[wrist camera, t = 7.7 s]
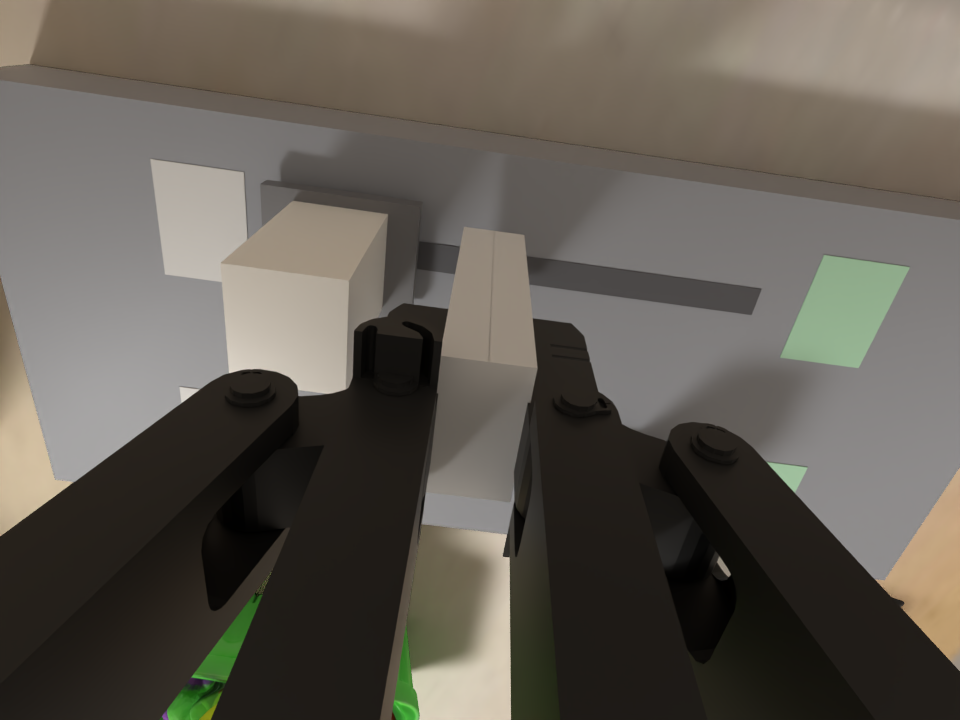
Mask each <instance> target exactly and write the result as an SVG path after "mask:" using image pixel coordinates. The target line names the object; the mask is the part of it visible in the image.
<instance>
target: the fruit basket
mask: <svg viewBox="0 0 960 720" xmlns="http://www.w3.org/2000/svg"><path fill="white" fill-rule="evenodd" d="M261 597H262V595H259V596H256V594H254V595H253V596H252V597H251V599H250V600H249V601H248V603H247V604H246V605H245V607H244V608H243V609H242V611H241V612H240V613H239V615H238V616H237V617H236V619H235V620H234V621H233V623H232V624H231V625H230V627H229V628H228V629H227V631H226V632H225V633H224V635H223V636H222V637H221V639H220V640H219V641H218V643H217V644H216V645H215V647H214V648H213V649H212V651H211V652H210V653H209V654H208V656H207V657H206V658H205V660H204V661H203V662H202V664H201V665H200V666H199V668H198V669H197V670H196V672H195V673H194V674H193V676H192V677H191V678H190V680H189V681H188V682H187V684H186V685H185V686H184V688H183V689H182V690H181V692H180V693H179V694H178V696H177V697H176V698H175V700H174V701H173V702H172V704H171V705H170V706H169V708H168V709H167V710H166V712H165V713H164V714H163V716H162V717H161V718H160V720H211V718H212V715H213V713H214V710H215V708H216V706H217V703H218V701H219V698H220V696H221V694H222V691H223V689H224V686H225V684H226V681H227V679H228V677H229V674H230V672H231V669H232V667H233V665H234V662H235V660H236V657H237V655H238V653H239V650H240V648H241V645H242V643H243V641H244V638H245V636H246V633H247V631H248V628H249V626H250V624H251V621H252V619H253V616H254V614H255V612H256V609H257V607H258V604H259V602H260V600H261ZM419 716H420V715H419V707H418V700H417V694H416V692H415V690H414V689H413V684H412V674H411V665H410V655H409V645H408V636H407V627H406V628H405V634H404V640H403V647H402V653H401V660H400V666H399V672H398V679H397V685H396V691H395V698H394V704H393V710H392V717H391V720H419Z"/></svg>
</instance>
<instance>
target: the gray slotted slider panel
mask: <svg viewBox="0 0 960 720" xmlns="http://www.w3.org/2000/svg"><path fill="white" fill-rule="evenodd" d="M266 180H273V181H280V182H287V183H294V184H301V185H308V186H315V187H323V188H330V189H337V190H344V191H351V192H358V193H365V194H372V195H379V196H386V197H393V198H400V199H407V200H414V201H421V202H423V204H422V216H421V227H420V238H419V250H418V261H417V272H416V283H415V295H414V305H422V306H429V307H437V308H445V309H449V304H450V299H451V293H452V288H453V283H454V277H455V272H456V267H457V261H458V256H459V251H460V246H461V240H462V235H463V230H464V227H470V228H477V229H485V230H492V231H499V232H507V233H514V234H521V235H524V237H525V247H526V257H527V267H528V277H529V287H530V297H531V308H532V318H535V319H542V320H550V321H558V322H565V323H572V324H573V325H574V326H575V327H576V328H577V329H578V330H579V331H580V332H581V333H582V334H583V335H584V338H585V341H586V345H587V351H588V353H589V357H590V362H591V365H592V369H593V373H594V377H595V381H596V384H597V388H598V392H600V393H602V394H603V395H605V396H606V397H607V398H608V399H610V400H611V401H612V402H613V403H614V405H615V407H616V408H617V410H618V412H619V416H620V419H621V422H622V424H623V425H625V426H627V427H628V428H630V429H633V430H635V431H638V432H641V433H643V434H646V435H650V436H653V437H656V438H659V439H662V440H665V441H667V439H668V436H669V433H670V431H671V429H673V428H674V427H675V426H677V425H678V424H682V423H688V422H698V423H709V424H713V425H715V426H720V427H722V428H725V429H727V430H728V431H730V432H732V433H734V434H736V435H737V436H739V437H741V438H742V439H743V440H745V441H746V442H747V443H748V444H749V445H751V446H752V447H753V448H754V449H755V450H756V451H757V452H758V454H759V455H760V456H761V457H762V458H763V459H764V460H765V461H766V462H767V463H768V464H769V465H770V467H771V468H772V469H773V470H774V471H775V472H776V473H777V474H778V475H779V476H780V477H781V478H782V480H783V481H784V482H785V483H786V484H787V485H788V486H789V487H790V488H791V489H792V490H793V491H794V493H795V494H796V495H797V496H798V497H799V498H800V499H801V500H802V501H803V502H804V503H805V504H806V506H807V507H808V508H809V509H810V510H811V511H812V512H813V513H814V514H815V515H816V516H817V517H818V519H819V520H820V521H821V522H822V523H823V524H824V525H825V526H826V527H827V528H828V529H829V530H830V532H831V533H832V534H833V535H834V536H835V537H836V538H837V539H838V540H839V541H840V542H841V543H842V545H843V546H844V547H845V548H846V549H847V550H848V551H849V552H850V553H851V554H852V555H853V556H854V557H855V559H856V560H857V561H858V562H859V563H860V564H861V565H862V566H863V567H864V568H865V569H866V570H867V572H868V573H869V574H870V575H871V576H872V577H873V578H874V579H878V580H885V579H886V577H887V576H888V574H889V573H890V571H891V570H892V568H893V567H894V565H895V564H896V562H897V561H898V559H899V558H900V556H901V555H902V553H903V552H904V550H905V549H906V547H907V546H908V544H909V543H910V541H911V540H912V538H913V537H914V535H915V534H916V532H917V531H918V529H919V528H920V526H921V525H922V523H923V522H924V520H925V519H926V517H927V516H928V514H929V513H930V511H931V510H932V508H933V507H934V505H935V504H936V502H937V501H938V499H939V498H940V496H941V495H942V493H943V492H944V490H945V489H946V487H947V486H948V484H949V483H950V481H951V480H952V478H953V477H954V475H955V474H956V472H957V471H958V469H959V468H960V202H959V201H953V200H946V199H939V198H932V197H925V196H919V195H912V194H905V193H898V192H891V191H885V190H878V189H871V188H864V187H858V186H851V185H844V184H837V183H830V182H824V181H817V180H810V179H803V178H796V177H790V176H783V175H776V174H769V173H762V172H756V171H749V170H742V169H735V168H729V167H722V166H715V165H708V164H701V163H695V162H688V161H681V160H674V159H667V158H661V157H654V156H647V155H640V154H634V153H627V152H620V151H613V150H606V149H600V148H593V147H586V146H579V145H572V144H566V143H559V142H552V141H545V140H538V139H532V138H525V137H518V136H511V135H505V134H498V133H491V132H484V131H477V130H471V129H464V128H457V127H450V126H443V125H437V124H430V123H423V122H416V121H410V120H403V119H396V118H389V117H382V116H376V115H369V114H362V113H355V112H348V111H342V110H335V109H328V108H321V107H314V106H308V105H301V104H294V103H287V102H281V101H274V100H267V99H260V98H253V97H247V96H240V95H233V94H226V93H219V92H213V91H206V90H199V89H192V88H186V87H179V86H172V85H165V84H158V83H152V82H145V81H138V80H131V79H124V78H118V77H111V76H104V75H97V74H90V73H84V72H77V71H70V70H63V69H57V68H50V67H43V66H36V65H29V64H27V65H16V66H5V67H0V277H1V281H2V285H3V289H4V292H5V296H6V300H7V303H8V307H9V311H10V315H11V318H12V322H13V326H14V329H15V333H16V337H17V340H18V344H19V348H20V352H21V355H22V359H23V363H24V366H25V370H26V374H27V377H28V381H29V385H30V389H31V392H32V396H33V400H34V403H35V407H36V411H37V415H38V418H39V422H40V426H41V429H42V433H43V437H44V440H45V444H46V448H47V452H48V455H49V459H50V463H51V466H52V470H53V474H54V477H55V480H62V481H70V482H75V481H76V480H78V479H79V478H80V477H82V476H83V475H85V474H86V473H87V472H89V471H90V470H91V469H93V468H94V467H95V466H97V465H98V464H99V463H101V462H102V461H104V460H105V459H106V458H108V457H109V456H110V455H112V454H113V453H114V452H116V451H117V450H118V449H120V448H121V447H123V446H124V445H125V444H127V443H128V442H129V441H131V440H132V439H133V438H135V437H136V436H137V435H139V434H140V433H142V432H143V431H144V430H146V429H147V428H148V427H150V426H151V425H152V424H154V423H155V422H156V421H158V420H159V419H161V418H162V417H163V416H165V415H166V414H167V413H169V412H170V411H171V410H173V409H174V408H175V407H177V406H178V405H180V404H181V403H182V402H184V401H185V400H186V399H188V398H189V397H190V396H192V395H193V394H194V393H196V392H197V391H199V390H200V389H201V388H203V387H204V386H205V385H207V384H208V383H209V382H211V381H213V380H215V379H217V378H218V377H220V376H222V375H224V374H228V373H229V366H228V354H227V341H226V329H225V316H224V303H223V291H222V278H221V266H220V263H221V262H222V261H223V260H224V259H226V258H227V257H228V256H229V255H230V254H231V253H233V252H234V251H235V250H236V249H237V248H238V247H240V246H241V245H242V244H243V243H244V242H245V241H247V240H248V239H249V238H250V237H251V236H252V235H253V234H255V233H256V232H257V231H258V230H259V229H260V228H262V216H261V192H260V184H261V183H263V182H264V181H266ZM378 318H381V317H378ZM322 394H325V393H317V392H309V391H302V390H298V396H310V395H322ZM513 504H514V486H513V491H512V496H511V501H510V502H503V501H494V500H486V499H478V498H470V497H461V496H453V495H445V494H437V493H428V492H426V495H425V504H424V513H423V520H422V524H425V525H433V526H441V527H449V528H458V529H466V530H474V531H482V532H491V533H499V534H507V533H508V528H509V524H510V519H511V514H512V509H513Z"/></svg>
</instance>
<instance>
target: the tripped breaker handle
mask: <svg viewBox="0 0 960 720" xmlns="http://www.w3.org/2000/svg"><path fill="white" fill-rule="evenodd" d="M260 192H261V216H262V228H260V229H259V230H258V231H257V232H256V233H255V234H253V235H252V236H251V237H250V238H249V239H248V240H247V241H245V242H244V243H243V244H242V245H241V246H240V247H238V248H237V249H236V250H235V251H234V252H233V253H231V254H230V255H229V256H228V257H227V258H226V259H224V260H223V261H222V262H221V263H220V266H221V278H222V291H223V303H224V316H225V329H226V341H227V354H228V366H229V373H232V372H236V371H240V370H245V369H251V370H253V369H263V370H268V371H275V372H278V373H281V374H283V375H285V376H288V377H290V378H291V379H292V380H293V381H294V382H295V383H296V384H297V387H298V390H302V391H309V392H317V393H325V394H330V393H335V392H339V391H342V390H345V389H347V388H349V385H350V383H351V380H352V378H353V346H354V330H355V329H356V328H357V327H358V326H359V325H360V324H361V323H363V322H366V321H368V320H371V319H374V318H378V317H387V316H388V314H389V312H390V311H392V310H393V309H395V308H396V307H398V306H399V305H401V304H402V303H407V304H414V295H415V283H416V272H417V261H418V250H419V238H420V227H421V216H422V204H423V202H421V201H414V200H407V199H400V198H393V197H386V196H379V195H372V194H365V193H358V192H351V191H344V190H337V189H330V188H323V187H315V186H308V185H301V184H294V183H287V182H280V181H273V180H266V181H264V182H263V183H261V184H260Z"/></svg>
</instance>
